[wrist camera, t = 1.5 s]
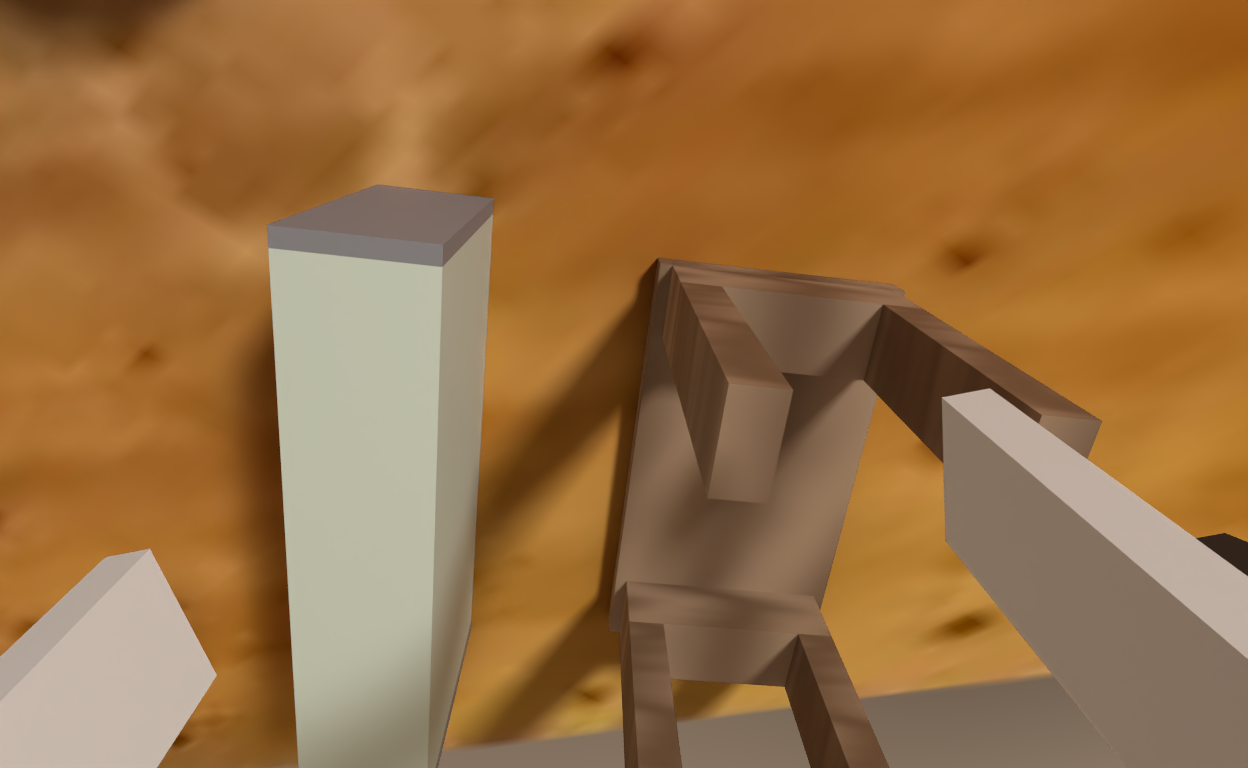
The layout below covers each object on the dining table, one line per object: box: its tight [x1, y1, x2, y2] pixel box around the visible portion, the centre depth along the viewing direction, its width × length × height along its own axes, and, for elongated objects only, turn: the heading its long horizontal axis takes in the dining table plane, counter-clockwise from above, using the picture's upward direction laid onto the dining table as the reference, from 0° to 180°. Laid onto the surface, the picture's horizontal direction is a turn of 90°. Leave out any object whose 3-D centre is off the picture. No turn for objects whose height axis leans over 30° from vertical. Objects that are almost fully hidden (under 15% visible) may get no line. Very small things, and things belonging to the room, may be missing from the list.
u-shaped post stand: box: [609, 258, 1102, 768], centre depth 26 cm, size 10×18×14 cm, turn 173°
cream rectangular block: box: [267, 185, 494, 768], centre depth 27 cm, size 4×21×10 cm, turn 173°
